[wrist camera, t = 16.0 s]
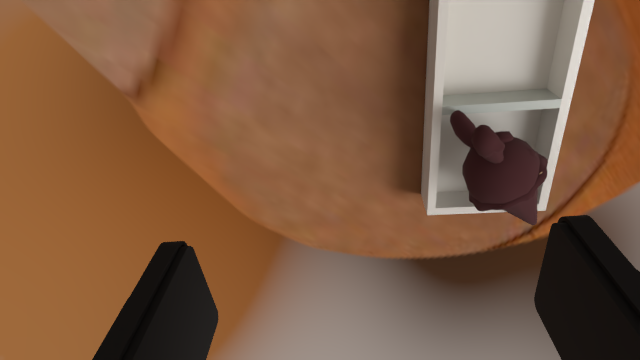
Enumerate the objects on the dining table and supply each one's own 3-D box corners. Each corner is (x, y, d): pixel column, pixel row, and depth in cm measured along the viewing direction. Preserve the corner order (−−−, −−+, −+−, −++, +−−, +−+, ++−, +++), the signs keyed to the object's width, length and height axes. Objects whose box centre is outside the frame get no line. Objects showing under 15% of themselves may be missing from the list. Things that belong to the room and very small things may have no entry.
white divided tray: (430, -33, 33) (440, -31, 30) (577, -47, 32) (605, -47, 28) (421, 194, 44) (427, 214, 41) (529, 189, 43) (545, 210, 40)
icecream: (594, 219, 36) (533, 100, 29) (525, 268, 37) (450, 166, 30) (541, 183, 42) (480, 78, 35) (484, 226, 43) (413, 133, 36)
